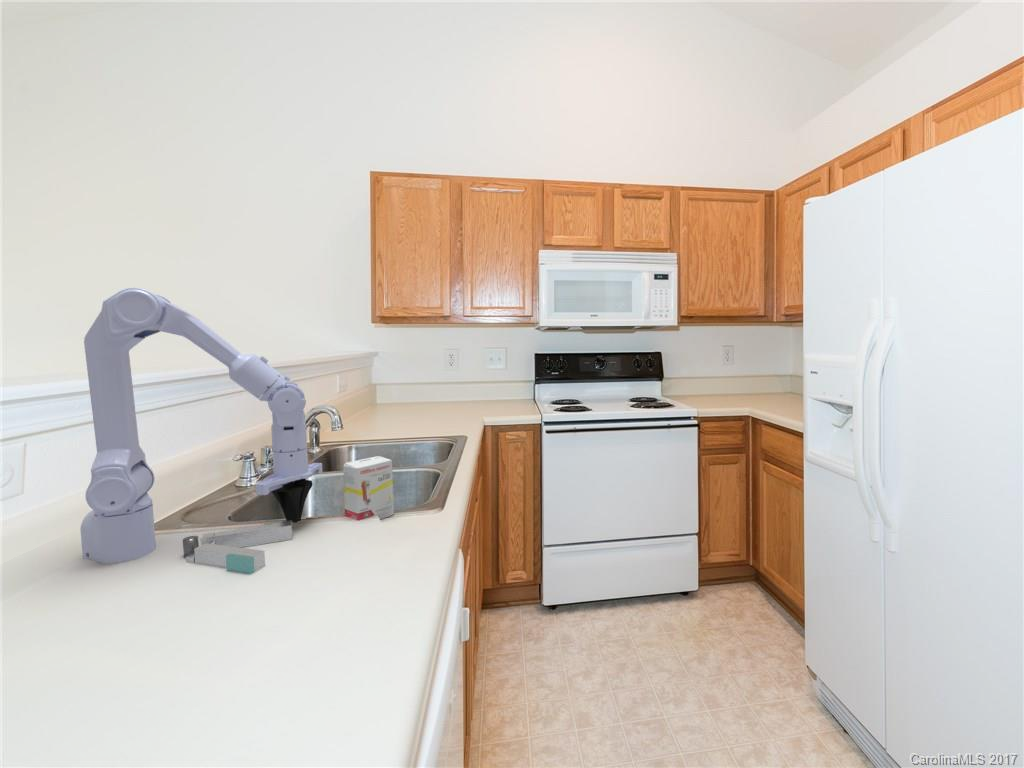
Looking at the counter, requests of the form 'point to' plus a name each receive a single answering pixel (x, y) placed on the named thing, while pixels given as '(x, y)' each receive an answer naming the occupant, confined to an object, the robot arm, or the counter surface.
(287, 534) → the bar
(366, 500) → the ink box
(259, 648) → the counter surface
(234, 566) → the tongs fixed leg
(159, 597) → the counter surface
